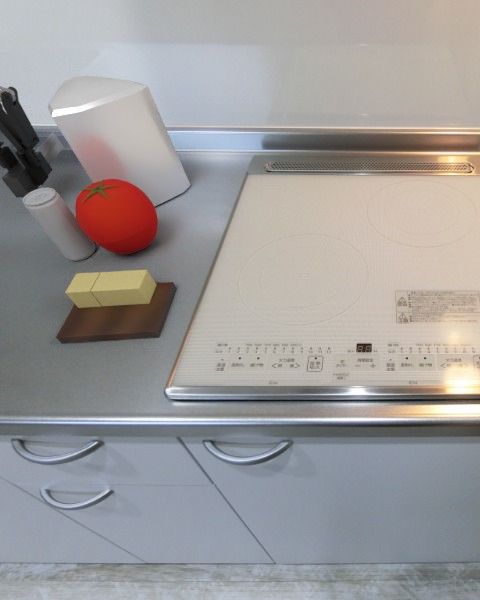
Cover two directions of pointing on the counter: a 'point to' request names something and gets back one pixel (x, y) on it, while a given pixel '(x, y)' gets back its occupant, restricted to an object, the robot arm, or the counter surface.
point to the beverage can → (59, 223)
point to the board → (119, 319)
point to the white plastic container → (119, 134)
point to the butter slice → (83, 290)
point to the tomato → (117, 216)
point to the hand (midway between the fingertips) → (34, 181)
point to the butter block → (124, 288)
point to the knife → (21, 178)
